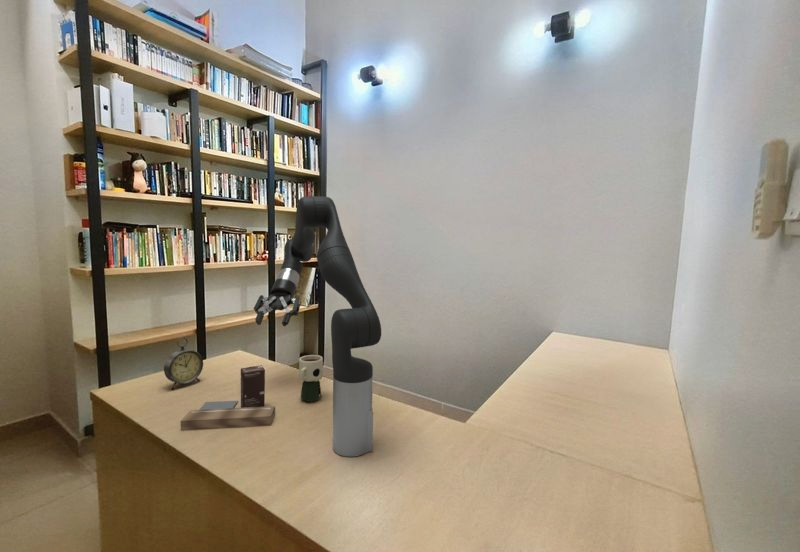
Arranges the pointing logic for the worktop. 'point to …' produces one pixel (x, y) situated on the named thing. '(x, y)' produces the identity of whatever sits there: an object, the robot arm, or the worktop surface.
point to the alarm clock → (183, 366)
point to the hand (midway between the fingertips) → (270, 324)
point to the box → (253, 387)
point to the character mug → (310, 376)
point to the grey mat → (219, 405)
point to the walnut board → (228, 418)
